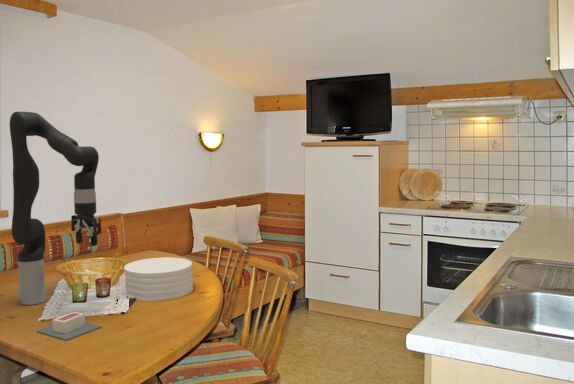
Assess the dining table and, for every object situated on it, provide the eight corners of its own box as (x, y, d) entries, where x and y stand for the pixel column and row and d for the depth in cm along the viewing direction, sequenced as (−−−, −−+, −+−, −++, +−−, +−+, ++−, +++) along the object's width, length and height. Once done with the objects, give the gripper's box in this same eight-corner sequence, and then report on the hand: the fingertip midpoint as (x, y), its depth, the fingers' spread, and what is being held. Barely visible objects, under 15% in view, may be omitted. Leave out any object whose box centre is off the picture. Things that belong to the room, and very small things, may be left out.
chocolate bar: (136, 298, 217) (123, 313, 199) (136, 300, 217) (124, 315, 199) (113, 299, 216) (99, 313, 198) (113, 301, 216) (99, 316, 199)
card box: (73, 323, 189) (72, 311, 188) (85, 325, 186) (84, 313, 186) (52, 331, 180) (52, 319, 180) (65, 333, 178) (64, 322, 178)
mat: (36, 331, 182) (36, 330, 182) (71, 319, 193) (71, 318, 193) (66, 340, 173) (66, 339, 173) (101, 327, 185) (101, 326, 185)
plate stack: (114, 290, 230) (113, 264, 229) (172, 278, 249) (171, 254, 248) (144, 305, 209) (143, 277, 208) (205, 291, 228) (204, 265, 227)
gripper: (106, 201, 197) (107, 245, 198) (81, 198, 204) (83, 240, 206) (88, 203, 190) (90, 248, 192) (64, 200, 198) (65, 243, 200)
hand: (86, 244), depth 199 cm, fingers open, 8 cm apart
